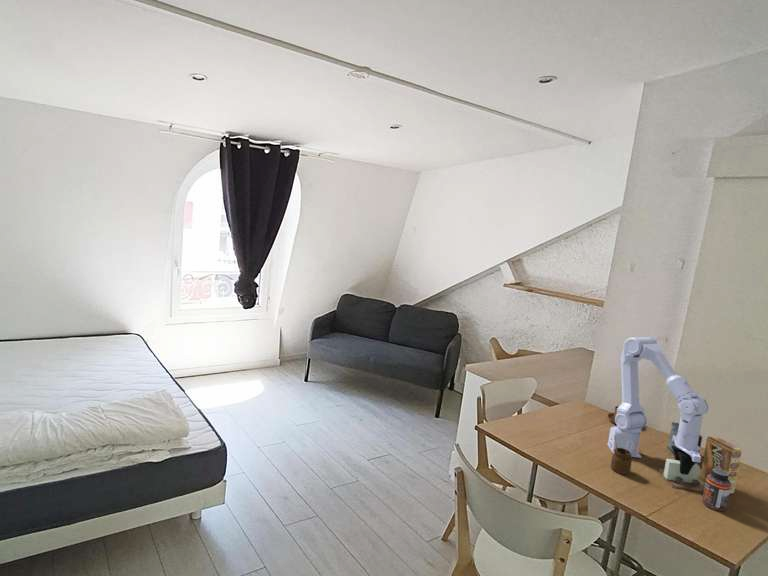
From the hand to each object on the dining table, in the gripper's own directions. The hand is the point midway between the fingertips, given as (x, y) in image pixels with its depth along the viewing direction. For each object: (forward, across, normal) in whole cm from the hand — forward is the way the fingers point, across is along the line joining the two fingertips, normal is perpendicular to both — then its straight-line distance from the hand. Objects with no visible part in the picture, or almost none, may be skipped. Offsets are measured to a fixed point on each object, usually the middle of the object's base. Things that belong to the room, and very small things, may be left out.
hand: (681, 471), depth 144 cm
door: (+3, 0, 0) cm, 3 cm away
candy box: (+4, +1, -11) cm, 12 cm away
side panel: (+4, +1, -2) cm, 4 cm away
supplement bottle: (+4, -11, -4) cm, 13 cm away
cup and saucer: (+4, +45, +3) cm, 45 cm away
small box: (+4, +21, -10) cm, 24 cm away
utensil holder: (+4, +2, +18) cm, 19 cm away
